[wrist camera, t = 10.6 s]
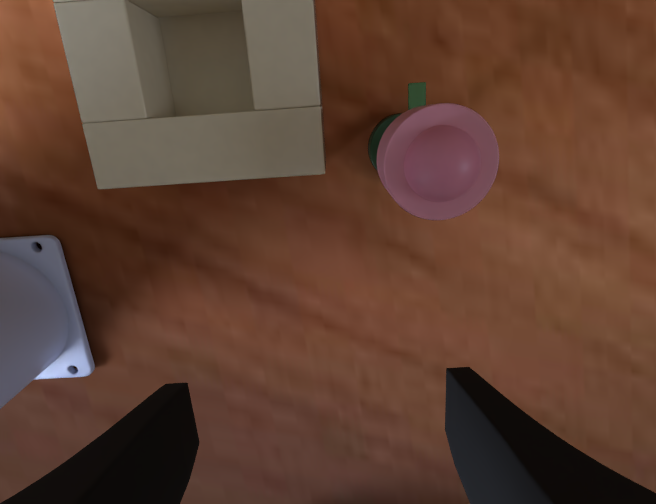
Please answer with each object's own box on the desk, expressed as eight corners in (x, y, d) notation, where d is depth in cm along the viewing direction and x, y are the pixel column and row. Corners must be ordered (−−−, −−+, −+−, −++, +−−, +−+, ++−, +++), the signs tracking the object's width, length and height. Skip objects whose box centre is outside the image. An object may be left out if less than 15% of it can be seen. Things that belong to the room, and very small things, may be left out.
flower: (365, 185, 20) (389, 233, 12) (361, 92, 19) (386, 73, 10) (436, 181, 20) (511, 225, 12) (437, 87, 19) (522, 62, 10)
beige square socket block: (139, 176, 20) (97, 189, 16) (94, -42, 17) (31, -85, 14) (326, 163, 20) (325, 174, 16) (311, -60, 17) (305, -108, 13)
